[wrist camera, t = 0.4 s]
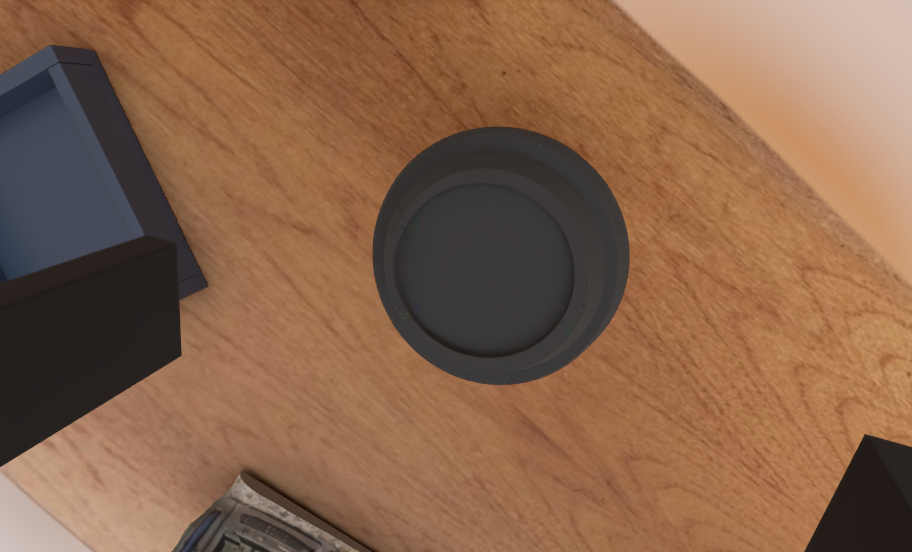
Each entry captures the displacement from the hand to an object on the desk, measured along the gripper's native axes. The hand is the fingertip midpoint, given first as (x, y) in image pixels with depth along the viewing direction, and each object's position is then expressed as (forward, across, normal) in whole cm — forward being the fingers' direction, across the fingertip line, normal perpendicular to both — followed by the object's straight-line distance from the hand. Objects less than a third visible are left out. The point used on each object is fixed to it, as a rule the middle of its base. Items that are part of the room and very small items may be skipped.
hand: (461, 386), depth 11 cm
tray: (+19, -33, -9) cm, 39 cm away
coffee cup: (+22, -2, -2) cm, 22 cm away
